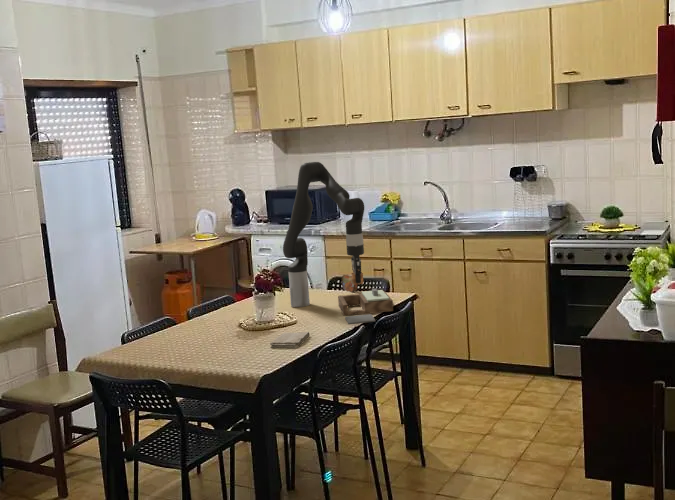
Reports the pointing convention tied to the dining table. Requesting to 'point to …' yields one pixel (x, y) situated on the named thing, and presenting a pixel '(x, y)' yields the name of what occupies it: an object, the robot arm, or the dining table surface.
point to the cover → (375, 295)
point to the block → (355, 279)
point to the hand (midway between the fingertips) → (357, 281)
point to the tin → (348, 283)
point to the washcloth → (289, 340)
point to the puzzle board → (363, 304)
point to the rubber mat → (359, 319)
